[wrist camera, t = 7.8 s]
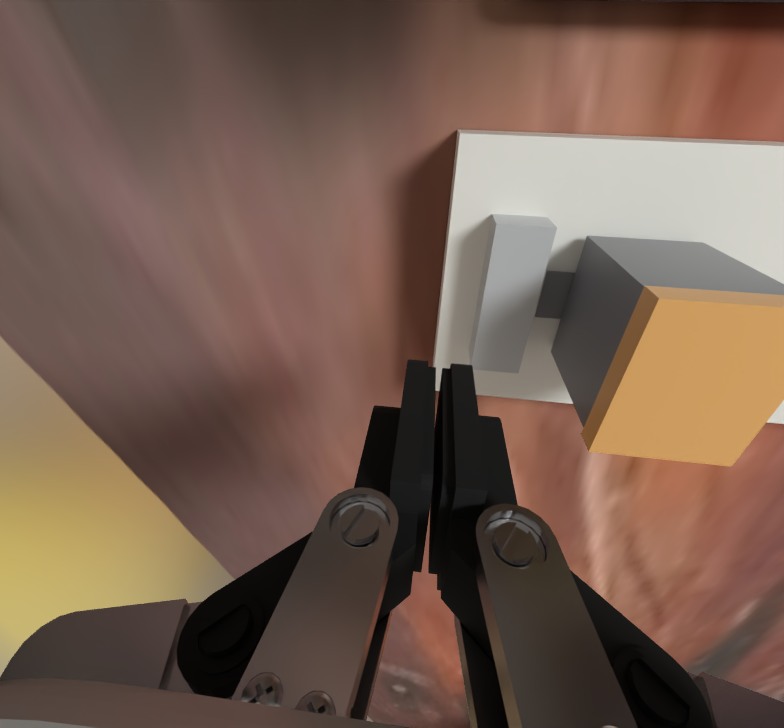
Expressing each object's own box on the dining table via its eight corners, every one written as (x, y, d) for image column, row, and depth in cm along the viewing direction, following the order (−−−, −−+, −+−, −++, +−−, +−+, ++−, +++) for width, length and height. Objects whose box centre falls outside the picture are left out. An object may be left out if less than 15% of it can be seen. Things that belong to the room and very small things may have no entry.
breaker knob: (584, 232, 14) (659, 298, 9) (707, 239, 13) (853, 312, 9) (547, 353, 17) (588, 451, 12) (647, 361, 16) (731, 466, 12)
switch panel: (457, 129, 15) (461, 135, 12) (1213, 158, 13) (1517, 177, 9) (433, 357, 21) (430, 409, 18) (943, 402, 19) (1062, 472, 16)
